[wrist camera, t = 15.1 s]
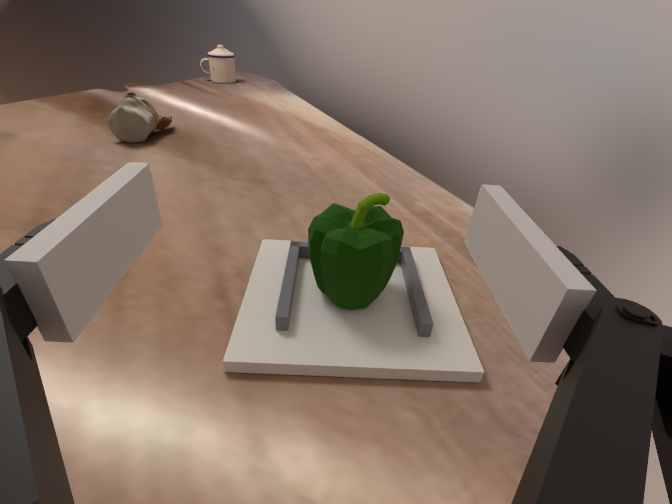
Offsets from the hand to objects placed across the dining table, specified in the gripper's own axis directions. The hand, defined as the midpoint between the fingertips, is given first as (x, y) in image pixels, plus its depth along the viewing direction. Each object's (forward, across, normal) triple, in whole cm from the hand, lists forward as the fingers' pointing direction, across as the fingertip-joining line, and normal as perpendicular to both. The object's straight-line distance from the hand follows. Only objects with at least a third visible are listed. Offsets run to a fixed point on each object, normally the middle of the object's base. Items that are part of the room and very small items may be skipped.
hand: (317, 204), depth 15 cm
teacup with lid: (+134, -39, -20) cm, 141 cm away
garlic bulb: (+64, -38, -19) cm, 77 cm away
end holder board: (+14, +4, -17) cm, 23 cm away
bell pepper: (+14, +4, -16) cm, 22 cm away
